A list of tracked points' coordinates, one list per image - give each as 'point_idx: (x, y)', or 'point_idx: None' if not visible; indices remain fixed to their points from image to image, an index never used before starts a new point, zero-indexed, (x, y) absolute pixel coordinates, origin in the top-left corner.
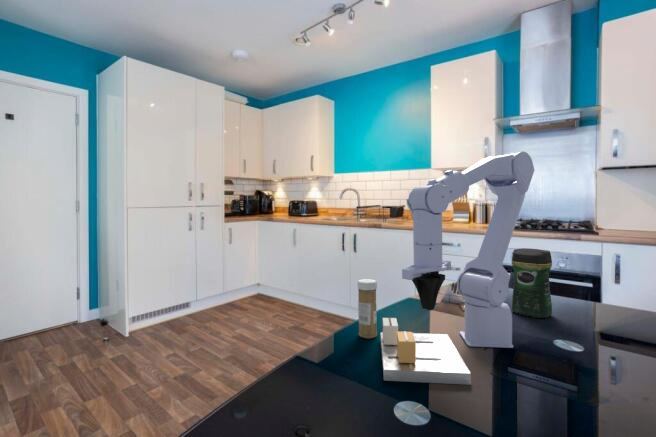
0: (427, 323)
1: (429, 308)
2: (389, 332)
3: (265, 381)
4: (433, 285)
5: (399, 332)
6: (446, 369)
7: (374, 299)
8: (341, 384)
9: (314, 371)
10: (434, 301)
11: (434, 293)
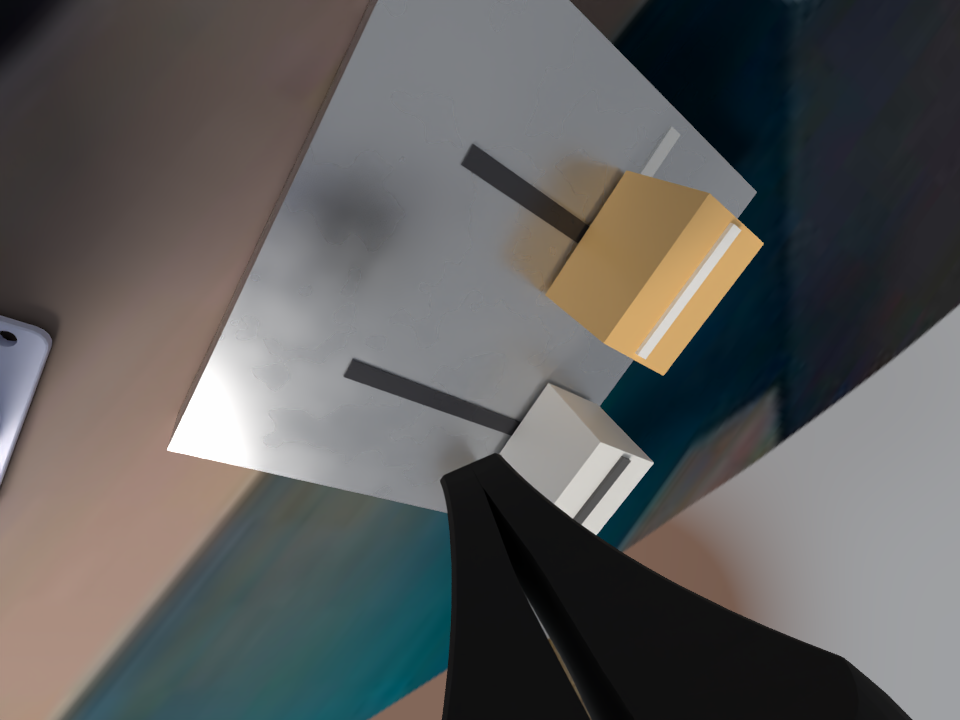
0: (130, 651)
1: (509, 466)
2: (612, 431)
3: (923, 326)
4: (713, 649)
5: (665, 356)
6: (535, 23)
7: (581, 702)
8: (827, 225)
9: (817, 337)
10: (486, 515)
11: (547, 581)
